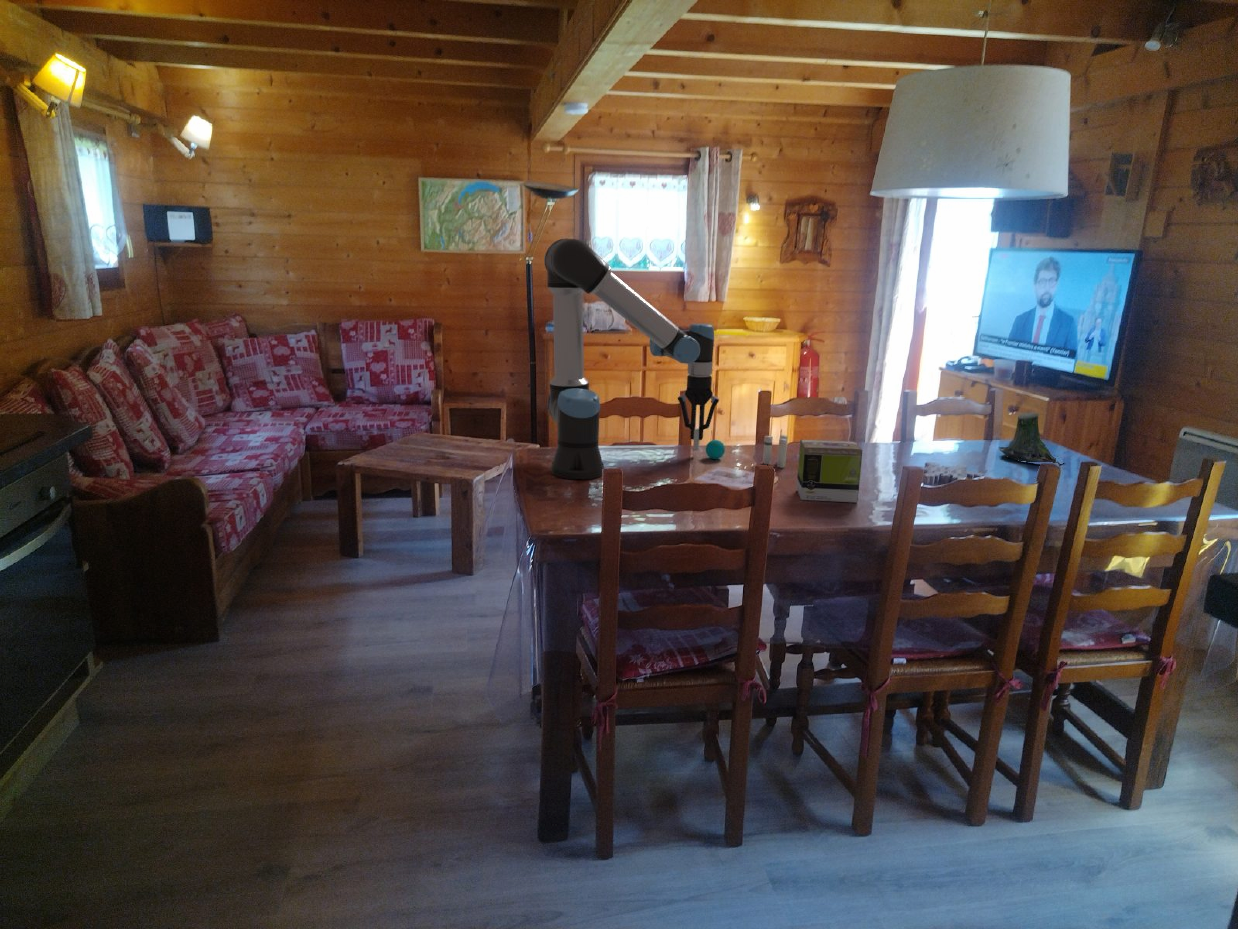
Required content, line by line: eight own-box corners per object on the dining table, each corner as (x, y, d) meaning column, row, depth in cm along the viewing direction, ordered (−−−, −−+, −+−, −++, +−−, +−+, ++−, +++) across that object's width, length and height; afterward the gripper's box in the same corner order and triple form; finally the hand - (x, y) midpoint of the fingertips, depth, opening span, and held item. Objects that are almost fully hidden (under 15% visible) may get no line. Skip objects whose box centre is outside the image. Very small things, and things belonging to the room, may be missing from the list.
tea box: (851, 493, 222) (856, 440, 218) (857, 504, 212) (864, 449, 208) (795, 489, 223) (800, 437, 219) (799, 500, 214) (804, 446, 210)
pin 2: (775, 466, 246) (777, 439, 244) (779, 465, 248) (782, 438, 246) (782, 468, 245) (784, 440, 242) (786, 466, 246) (788, 439, 244)
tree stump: (1079, 468, 258) (1078, 415, 253) (1020, 482, 258) (1017, 430, 252) (1045, 451, 276) (1043, 401, 270) (989, 464, 275) (986, 415, 269)
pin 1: (776, 462, 251) (778, 435, 249) (780, 461, 253) (782, 434, 250) (782, 464, 249) (785, 437, 247) (786, 462, 251) (789, 436, 249)
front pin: (760, 463, 249) (763, 436, 247) (765, 462, 251) (767, 435, 249) (767, 464, 248) (769, 437, 246) (772, 463, 250) (774, 436, 247)
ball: (701, 458, 253) (702, 439, 251) (712, 455, 257) (713, 437, 255) (716, 462, 249) (717, 443, 247) (728, 459, 253) (729, 440, 252)
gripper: (722, 374, 250) (718, 448, 256) (680, 372, 253) (677, 445, 259) (719, 378, 243) (715, 454, 249) (676, 375, 246) (673, 450, 252)
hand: (696, 449), depth 254 cm, fingers closed
